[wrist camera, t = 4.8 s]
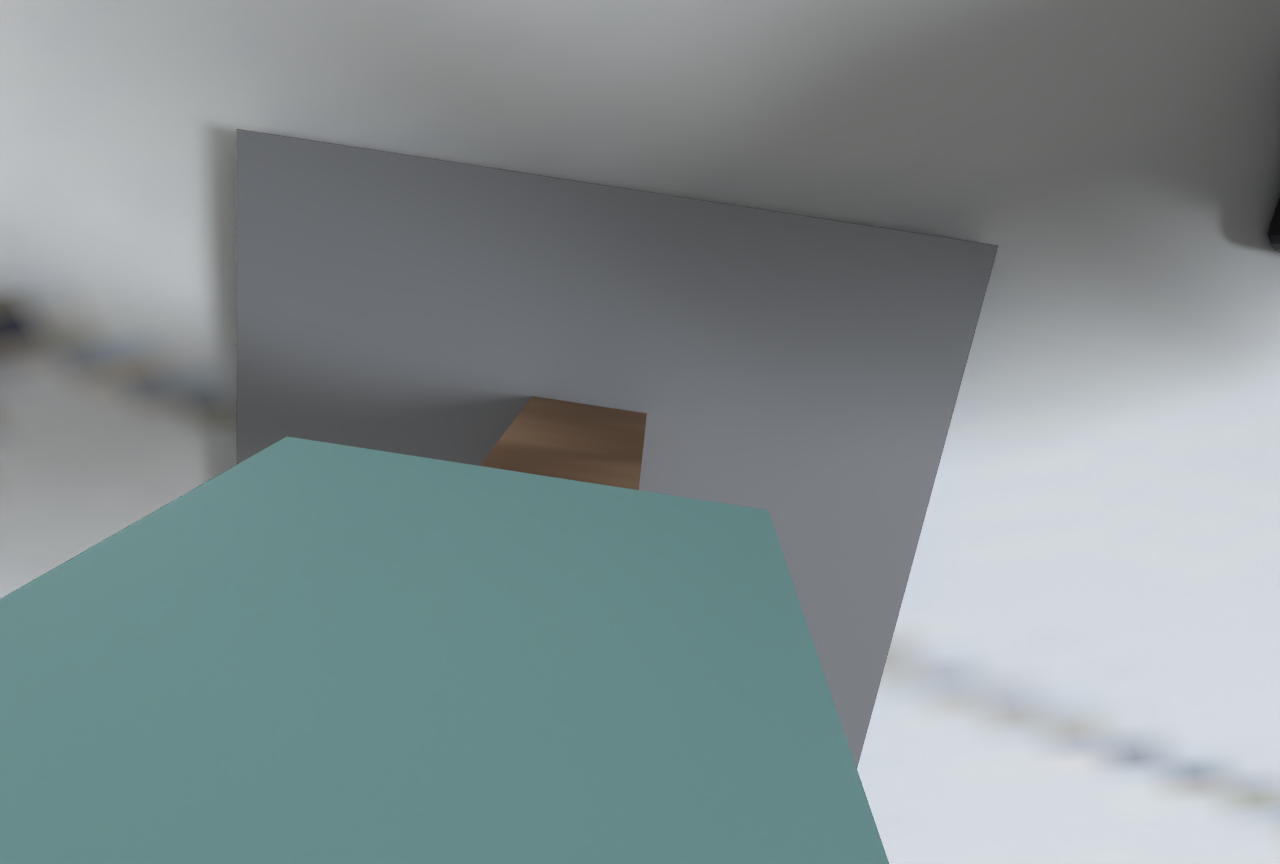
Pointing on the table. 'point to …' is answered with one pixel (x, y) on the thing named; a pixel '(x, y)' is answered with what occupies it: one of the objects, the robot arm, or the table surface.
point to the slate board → (618, 349)
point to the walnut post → (573, 443)
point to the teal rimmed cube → (422, 679)
